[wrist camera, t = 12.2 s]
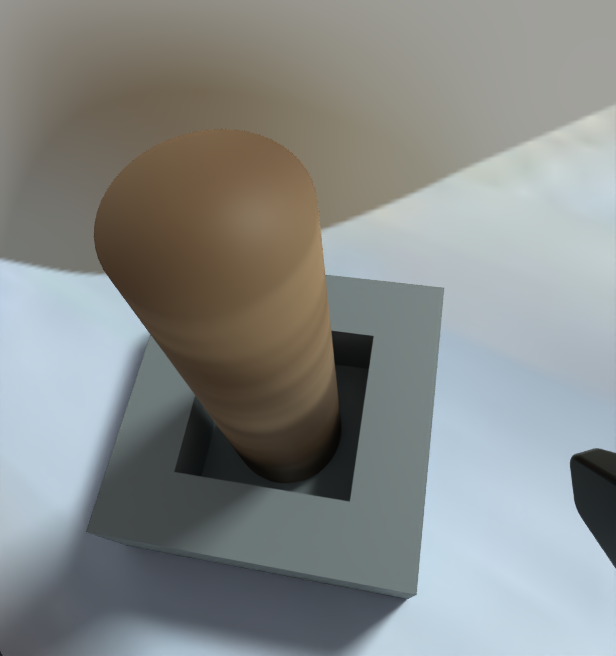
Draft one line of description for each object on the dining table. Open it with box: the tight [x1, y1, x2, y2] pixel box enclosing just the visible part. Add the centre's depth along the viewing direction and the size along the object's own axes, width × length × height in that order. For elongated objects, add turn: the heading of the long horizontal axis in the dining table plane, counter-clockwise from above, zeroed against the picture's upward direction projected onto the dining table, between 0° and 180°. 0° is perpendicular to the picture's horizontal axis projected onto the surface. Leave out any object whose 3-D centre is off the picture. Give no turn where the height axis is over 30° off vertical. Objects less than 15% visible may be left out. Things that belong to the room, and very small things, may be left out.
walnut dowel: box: [94, 129, 341, 483], centre depth 16 cm, size 4×4×13 cm
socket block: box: [86, 275, 444, 599], centre depth 21 cm, size 10×10×4 cm
